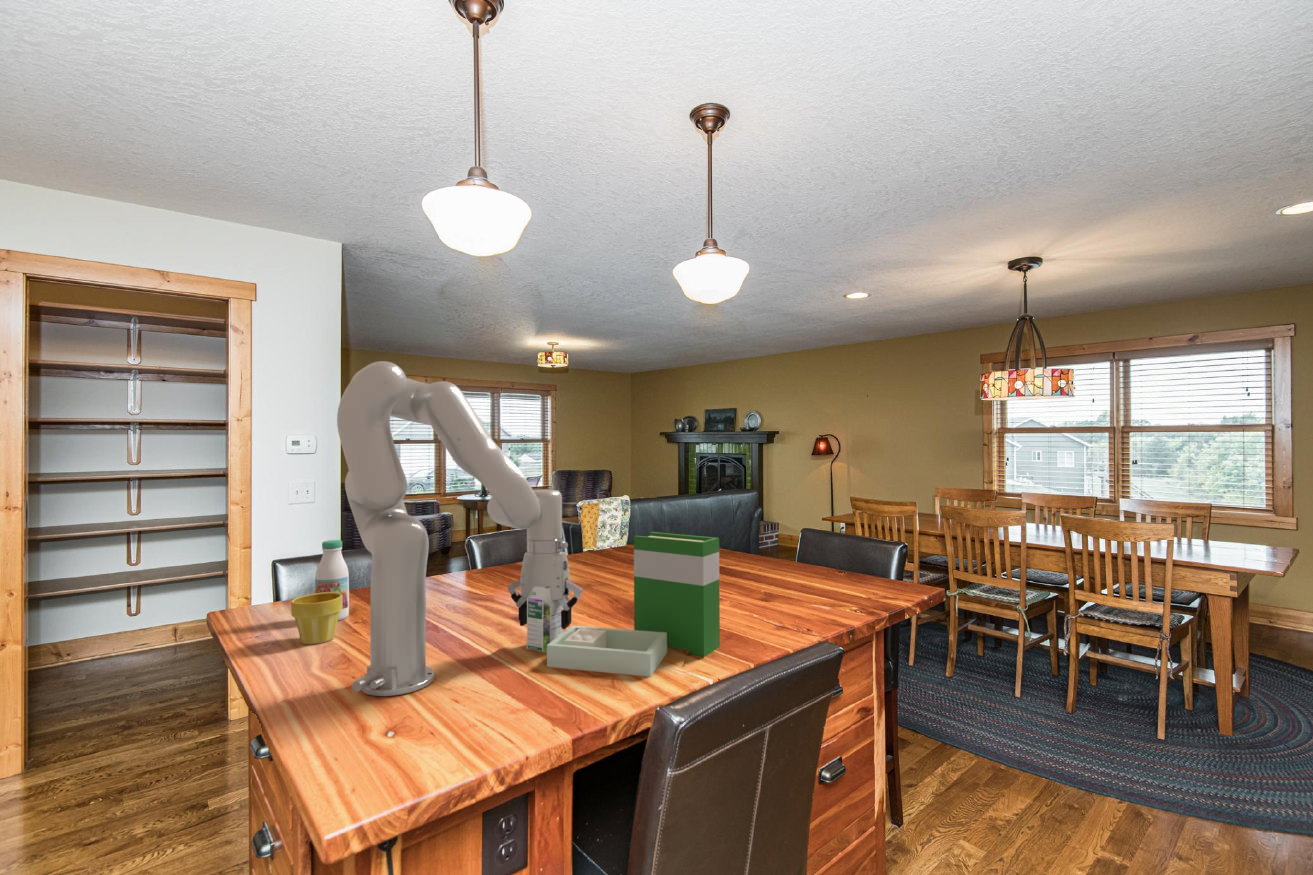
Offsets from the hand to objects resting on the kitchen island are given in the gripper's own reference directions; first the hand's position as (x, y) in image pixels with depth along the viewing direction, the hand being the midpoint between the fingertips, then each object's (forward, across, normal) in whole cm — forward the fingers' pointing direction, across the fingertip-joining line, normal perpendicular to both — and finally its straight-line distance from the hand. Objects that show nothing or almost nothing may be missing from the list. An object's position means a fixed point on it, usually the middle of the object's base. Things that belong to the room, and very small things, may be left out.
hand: (544, 625), depth 129 cm
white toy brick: (+4, -11, +4) cm, 13 cm away
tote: (+5, -16, +4) cm, 17 cm away
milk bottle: (+6, +64, -9) cm, 65 cm away
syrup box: (+6, 0, 0) cm, 6 cm away
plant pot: (+6, +54, +6) cm, 55 cm away
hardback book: (+6, -27, -10) cm, 29 cm away
